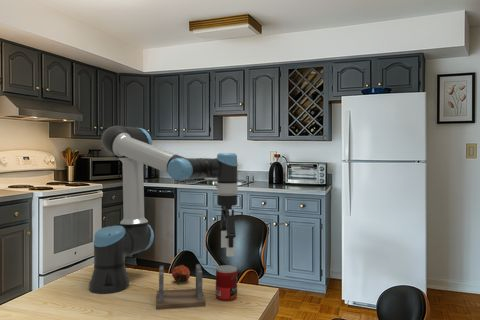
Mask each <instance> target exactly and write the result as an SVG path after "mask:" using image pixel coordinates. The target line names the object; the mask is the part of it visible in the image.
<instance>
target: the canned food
mask: <svg viewBox="0 0 480 320" xmlns="http://www.w3.org/2000/svg"><path fill="white" fill-rule="evenodd" d="M215 296H216V299H217V300H219V301H223V302H231V301H234V300H236V299H237V296H238V268H237V267H236V266H234V265H231V264H230V265H228V264H227V265H226V264H225V265H224V264H223V265H218V266H217V267H216V268H215Z"/></svg>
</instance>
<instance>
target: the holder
mask: <svg viewBox="0 0 480 320" xmlns="http://www.w3.org/2000/svg"><path fill="white" fill-rule="evenodd" d="M164 268H165V266H164V265H159V269H158V270H159V271H158V275H159V276H158V290H156V294H155V295H156V297H155V310H156V311H157V310H169V309H184V308H198V307H200V308H201V307H206V299H205V295H204V292H203V270H202V267H201V264H200V263H196V264H195V288H185V289H168V290H166V289H165V290H164V285H165V283H164V281H165V280H164Z"/></svg>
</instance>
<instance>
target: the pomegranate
mask: <svg viewBox="0 0 480 320" xmlns="http://www.w3.org/2000/svg"><path fill="white" fill-rule="evenodd" d="M190 276H191V271H190V269H189V268H188V267H187V266H185V264H184V263H182V264H180V265H177V266H176V267H174V268H173V269H172V272H171V277H172V278H173V280H174V281H175V282H177V285H179V284H180V282H181V283H182V282H183V283H186V282H188V281H189V279H190V278H191V277H190Z"/></svg>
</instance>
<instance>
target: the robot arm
mask: <svg viewBox="0 0 480 320" xmlns="http://www.w3.org/2000/svg"><path fill="white" fill-rule="evenodd" d="M100 142H101V145H102V148H103V149H104V150H105V151H106V152H108V153H109V154H112V155H114V156H116V157H118V160H119V161H120V162H121V163H122V196H123V198H122V199H123V200H122V201H123V203H122V204H123V207H122V208H123V218H122V219H121V220H120V222H119V225H112V226H106V227H102V228H99V229H98V230H96V231H95V233H94V236H93V237H94V238H93V272H92V275H91V279H90V280H89V283H88V289H89V291H90V292H93V293H95V294H111V293H112V294H113V293H117V292H121V291H124V290H126V289H128V288H129V286H130V277H129V276H128V272H127V269H126V265H125V264H126V262H125V261H126V257H128V256H132V255H135V254H140V253H143V252H144V251H146V250H148V249H150V247H151V246H152V245H153V242H154V239H155V234H154V230H153V229H152V226H151V225H150V224H149V221H148V219H147V218H145V192H144V190H145V188H144V183H145V182H144V165H146V166H149V167H151V168H153V169H156V170H159V171H161V172H164V173H165V174H168V175H169V177H170V178H171V179H172V180H175V181H176V180H177V181H186V180H194V179H216V181H217V185H216V186H215V188H216V189H217V192H216V193H217V196H216V199H217V200H216V203H217V205H218V206H220V209H221V210H220V211H221V212H220V224H219V227H220V230H221V231H220V248H222V249H223V248H225V249H226V252H225V253H226V257H229V258H230V257H235V238H236V236H237V235H236V227H235V225H236V224H235V211H234V209H233V208H232V206H234V207H235V206H237V205H238V195H237V194H238V189H239V187H238V186H239V185H238V166H239V165H238V164H239V163H238V155H237V154H236V153H234V152H219V153H217V155H216V157H215V158H206V157H204V158H203V157H197V158H196V157H195V158H194V157H193V158H192V157H191V158H188V157H184V156H182V155H179V154H177V153H173V152H171V151H168V150H166V149H162V148H161V147H158V146H155V145H153V140H152V137H151V135H150V133H149V132H148V131H147V130H146V129H144V128H141V127H140V128H139V127H138V126H136V127H134V126H123V125H114V126H110V127H107V129H105V130H104V131H103V133H102V135H101V141H100Z"/></svg>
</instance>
